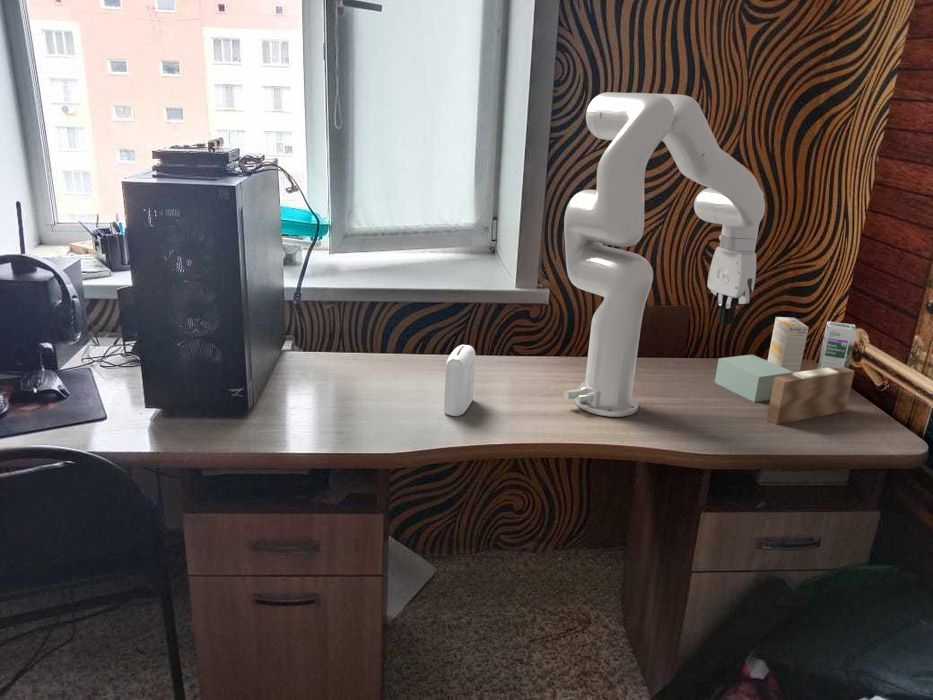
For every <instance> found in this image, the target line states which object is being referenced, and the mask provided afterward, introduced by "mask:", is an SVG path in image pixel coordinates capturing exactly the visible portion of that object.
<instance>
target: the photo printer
mask: <svg viewBox="0 0 933 700" xmlns="http://www.w3.org/2000/svg"><path fill="white" fill-rule="evenodd" d="M476 356H477V355H476V350H475V349H474V347H473V346H472V345H469V344H460V345H458V346H457V347H456V348H454V349H453V351H452V352H451V353H450V355H449V356H448V358H447V360H446V363H445V364H446V365H445V376H444V377H445V379H444V380H445V381H444V382H445V383H444V396H443V397H444V399H443V401H444V402H443V411H444V413H445V415H448V416H452V417H459V416H462V415H463V414H464V413H465V412H466V411H467V409H468V408H469V407H470V405H471V403H473V399H474V389H475V388H474V387H475V373H476V372H475V369H476Z"/></svg>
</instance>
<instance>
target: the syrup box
mask: <svg viewBox="0 0 933 700" xmlns="http://www.w3.org/2000/svg"><path fill="white" fill-rule="evenodd" d="M856 336H857V327H856V325H855V324H852V323H851V324H850V323H844V322H843V323H842V322H838V321H837V322H835V321H831V320H830V321H829V320H828V321H827V322H826V324H825V329H824V333H823V339H822V345H821V350H820V353H819V360H818V364H817V367H816V369H821V368H830V369H834V368H841V367H846V368H848V369H850V363H851V359H852V354H853V349H854V345H855V341H856Z"/></svg>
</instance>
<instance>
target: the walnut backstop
mask: <svg viewBox="0 0 933 700" xmlns="http://www.w3.org/2000/svg"><path fill="white" fill-rule="evenodd" d="M854 376H855V370H853V369H851V368H846V367H841V368H834V369H830V368H821V369H817V368H816V369H809V370H804V371H802V370H800V372H795V373H793V375H788V376H781V377H775V379H774V384H773V389H772V394H771V399H770V400H769V405H768V410H767V413H766V414H767V415H766V421H768V422H771V423H773V424H775V425H781V424H787V423H791V422H796V421H802V420H806V419H807V420H808V419H813V418H818V417H821V416H829V415H834V414H838V413H844V412H846V410H847V407H848V402H849V397H850V392H851V388H852V385H853V380H854Z"/></svg>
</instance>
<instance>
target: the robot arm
mask: <svg viewBox="0 0 933 700" xmlns="http://www.w3.org/2000/svg"><path fill="white" fill-rule="evenodd" d="M588 104H589V105H588V106H587V109H586V112H585V121H586V122H585V123H586V126H587V128H588V131H589V132H590V133H591V134H592V135H593V136H595V138H597V139H600V140H606V141H611V143H610V144H609V145H608V147H607V148H606V149H605V150H604V152H603V154H602V155H601V157H600V160H599V163H598V165H597V170H596V189H584V190H581V191H579V192H577V193H576V194H574V195H573V197H572V198H571V199H570V200H569V202H568V203H567V206H566V209H565V211H564V212H565V213H564V219H563V224H564V225H563V226H564V228H563V229H564V230H563V231H564V248H565V249H564V250H565V264H566V272H567V277H568V279H569V281H570V282H571V284H572V285H573V286H574V287H576V288H577V289H580V290H582V291H585V292H588V293H591V294H594V295H598V296H600V297H603V301H602V302H601V303H600V305H599V306H598V308H597V309H596V310H595V312H594V313H593V315H592V319H591V322H590V323H591V324H590V325H591V326H590V333H589V342H588V343H589V345H588V352H587V362H586V371H585V379H584V381H582V382H579V383H580V385H579V386H578V387H577V388H576V389H567V390H564V391H563V395H562V396H563V398H564V400H565V401H569V400H575V402H574V403H575V404H576V405H577V406H578V407H579V408H580V409H582V410H583V411H586V412H588V413H590V414H594V415H597V416H602V417H603V416H604V417H610V418H611V417H613V418H615V417H617V418H622V417H628V416H631V415H633V414H635V413H637V411H638V409H639V401H638V400H637V399H636V398H635V397H633V388H634V387H633V386H634V379H635V373H636V365H637V358H638V351H639V342H640V335H641V328H642V321H643V315H644V310H645V306H646V303H647V299H648V296H649V293H650V291H651V288H652V284H653V280H654V271H653V267H652V265H651V263H650V262H649V261H648V260H647V259H646V258H645V257H643V256H642V255H640V254H638V253H635V252H633V251H628V250H624V249H620V247H621V248H628V247H632V246H634V245H637V243H639V242H640V240H641V239H642V237H643V235H644V234H643V233H644V228H645V176H646V168H647V165H648V162H649V160H650V158H651V156H652V154H653V153H654V151H655V150H656V148H657V147H658V146H659V144H660V143H661V142H663V143H664V144H665V147H666V148H667V150H668V152H669V153H670V155H671V157H672V158H673V160H674V162H675V164H676V166H677V168H678V170H679V172H680V173H681V174H682V175H683V176H684V177H686V178H687V179H690V180H691V181H693V182H695V183H697V184H699V185H701V186H705V187H706V188H704V189H703V190H701V191H700V192H698V194H697V196H696V197H695V199H694V203H693V209H694V213H695V214H696V216H697V217H698V218H699V219H701V220H702V221H704V222H706V223H710V224H717V225H722V228H721V232H720V233H721V234H720V235H719V237H718V239H719V246H717V247H716V249H715V251H714V253H713V257H712V259H711V262H710V268H709V272H708V275H707V276H708V277H707V284H706V285H707V288H708V289H709V290H710V293H712V294H713V295H714V296H716V299H717V304H718V306H719V309H718V310H719V311H718V318H717V323H718V324H721V325H724V326H725V325H731V324H733V323H734V319H735V315H736V313H735V312H736V309H737V308H738V307H739V305H741V304H742V305H743V304H744V305H745V304H750V297H751V296H753V292H754V288H755V283H756V275H757V274H756V273H757V253H756V252H755V251H756V245H757V241H758V240H757V239H758V234H759V227H760V223H761V221H762V219H763V218H764V216H765V210H766V204H765V198H764V197H765V194H764V191H763V190H762V189H761V187H760V184H759V183H758V180H757V178H756V177H755V175H753V174H752V172H751V171H750V170H749V169H748V168H746V167H745V166H744V164H741V163H740V162H739V161H738V160H737V159H736V158H734V157H733V156H731V155H730V154H729V153H727V152H726V151H724V150H723V149H721V148H720V146H719V144H718V142H717V140H716V137H715V136H714V133H713V131H712V129H711V127H710V125H709V123H708V120H707V118H706V116H705V115H704V112H703V109H702V108H701V106H700V104H699V103H698V101H697V100H695V99H694V98H693V97H691V96H688V95H685V94H678V93H677V94H676V93H674V94H672V93H650V92H649V93H648V92H617V91H616V92H610V91H609V92H608V91H606V92H603V93H599V94H597V95H596V96H595V97H594V98H592V100H591V101H590V103H588ZM603 244H605V245H603ZM606 245H608V246H606ZM609 245H610V246H614V247H619V248H614V247H610V246H609Z"/></svg>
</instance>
